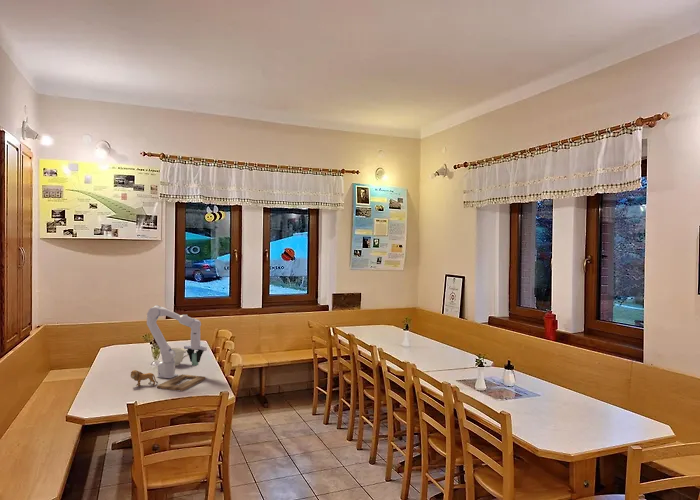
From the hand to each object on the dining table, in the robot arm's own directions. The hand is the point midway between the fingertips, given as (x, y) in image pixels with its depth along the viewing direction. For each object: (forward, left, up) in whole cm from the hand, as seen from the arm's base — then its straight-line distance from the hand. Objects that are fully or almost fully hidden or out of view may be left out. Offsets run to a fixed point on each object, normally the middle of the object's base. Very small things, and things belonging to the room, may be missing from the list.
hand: (195, 361), depth 300 cm
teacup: (-25, +20, -9) cm, 33 cm away
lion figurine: (-17, -26, -9) cm, 32 cm away
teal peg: (0, 0, -2) cm, 2 cm away
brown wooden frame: (+2, -16, -9) cm, 19 cm away
